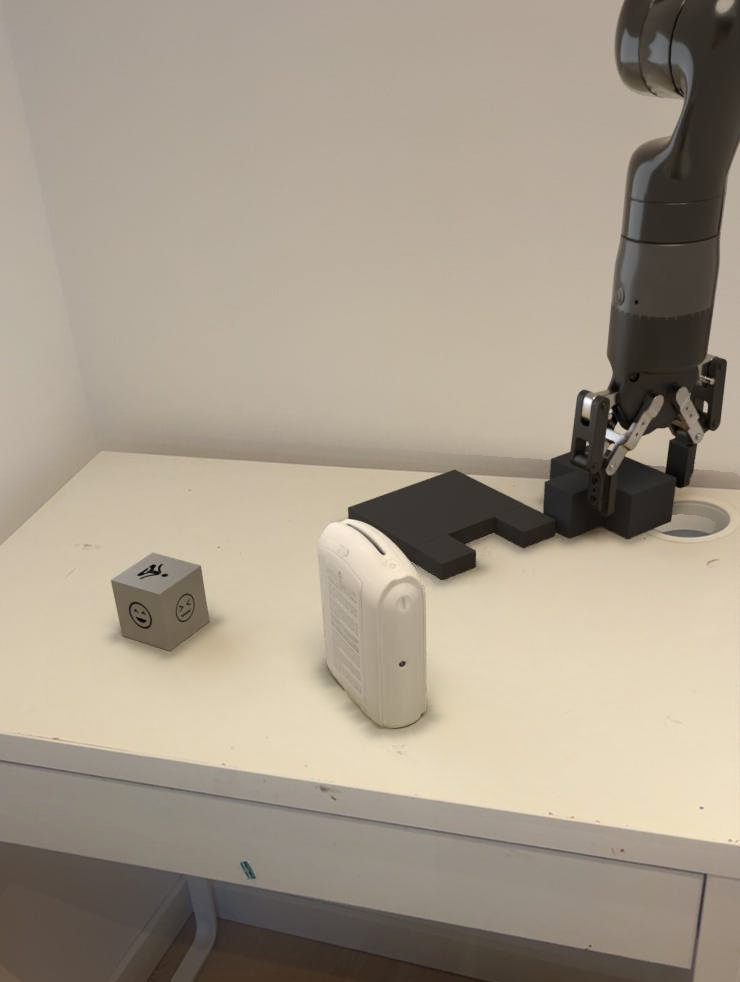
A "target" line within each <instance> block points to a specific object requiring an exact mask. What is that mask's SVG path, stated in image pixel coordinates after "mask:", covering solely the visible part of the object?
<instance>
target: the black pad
mask: <svg viewBox="0 0 740 982" xmlns="http://www.w3.org/2000/svg"><path fill="white" fill-rule="evenodd" d="M347 517H348V518H347V519H352V520H357V521H361V522H364V523H366V524H368V525H370V526H372V527H374V528H376V529H377V530H379V531H380V532H382V533H383V534H384V535H385V536H387V537H388V538H389V539H390V540H391V541H392V542H393V543H394V544H395V545H396V546H397V547H398V548H399V549H400V550H401V551H402V552H403V553H404V555H405V556H406V557H407V558H408V560H409V561H410V562H412V563H414V564H415V565H417V566H419V567H420V568H422V569H423V570H425V571H427V572H428V573H430V574H432V575H433V576H435V577H436V578H438V579H440V580H441V581H443V580H444V581H445V580H446V579H448V578H451V577H453V576H454V577H455V576H456V575H459V574H461V573H464V572H466V571H469V570H471V569H474V568H476V566H477V551H476V549H474V548H472V547H470V546H469V545H467V543H470V542H473V541H475V540H477V539H480V538H483V537H485V536H488V535H490V534H493V533H495V534H496V535H498V536H500V537H502V538H504V539H506V540H508V541H509V542H511V543H512V544H515V545H517V546H519V547H520V548H522V549H524V548H528V547H529V546H532V545H535V544H538V543H540V542H541V541H544V540H547V539H550V538H552V537H555V536H556V531H555V524H556V520H555V519H553V518H551V517H549V516H547V515H545V514H543V512H541V511H539V510H538V509H535V508H533V507H531V506H530V505H527V504H525V503H523V502H521V501H519V500H517V499H515V498H513V497H511V496H509V495H507V494H505V493H503V492H502V491H499V490H497V489H495V488H494V487H491V486H490V485H487V484H485V483H483V482H481V481H479V480H477V479H476V478H473V477H471V476H469V475H468V474H465V473H463V472H462V471H459V470H457V469H452V470H449V471H446V472H444V473H441V474H437V475H435V476H433V477H429V478H427V479H424V480H421V481H419V482H415V483H412V484H410V485H407V486H405V487H401V488H398V489H395V490H393V491H390V492H388V493H385V494H382V495H379V496H376V497H373V498H371V499H368V500H365V501H361V502H359V503H356V504H354V505H350V506H348V507H347Z"/></svg>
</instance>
